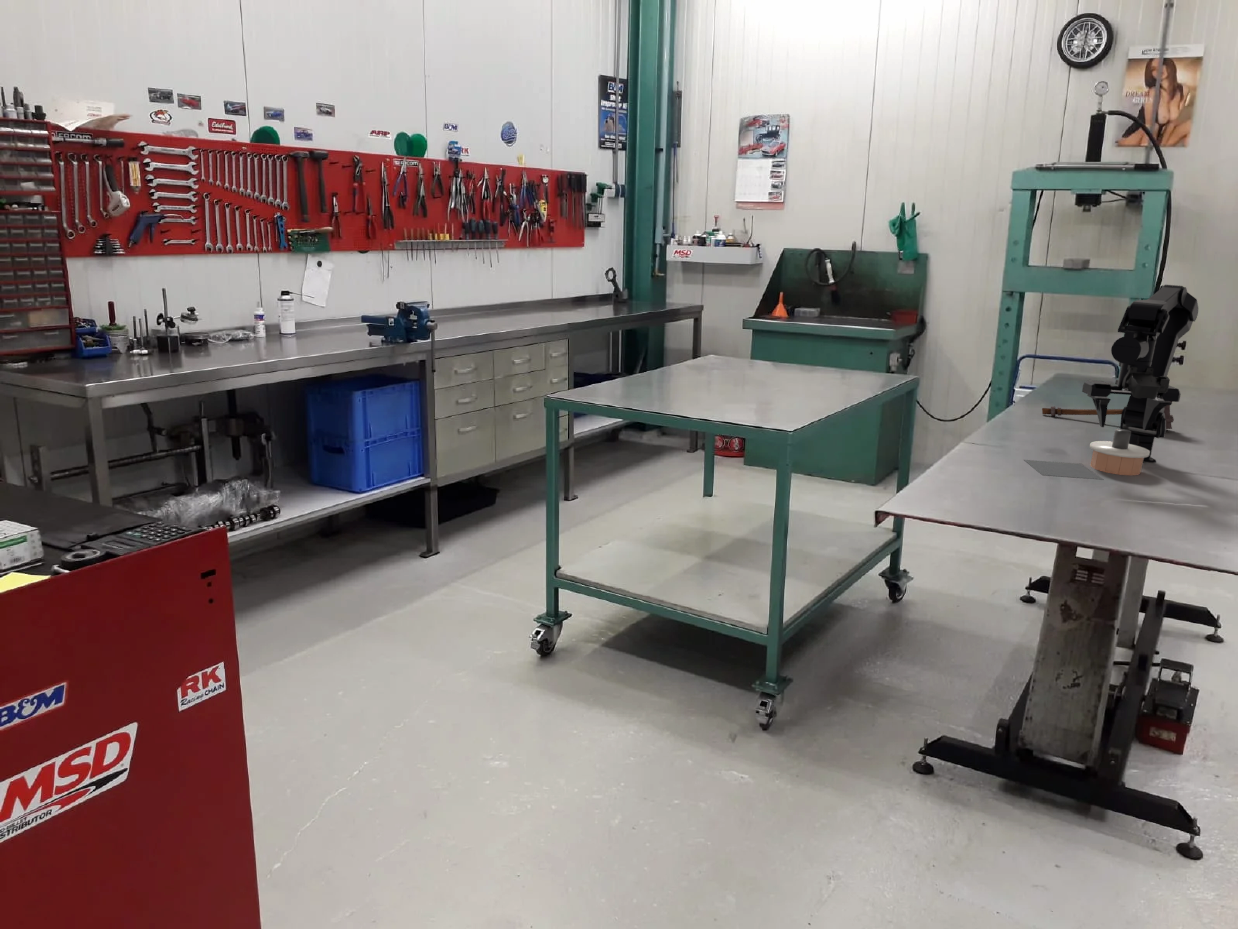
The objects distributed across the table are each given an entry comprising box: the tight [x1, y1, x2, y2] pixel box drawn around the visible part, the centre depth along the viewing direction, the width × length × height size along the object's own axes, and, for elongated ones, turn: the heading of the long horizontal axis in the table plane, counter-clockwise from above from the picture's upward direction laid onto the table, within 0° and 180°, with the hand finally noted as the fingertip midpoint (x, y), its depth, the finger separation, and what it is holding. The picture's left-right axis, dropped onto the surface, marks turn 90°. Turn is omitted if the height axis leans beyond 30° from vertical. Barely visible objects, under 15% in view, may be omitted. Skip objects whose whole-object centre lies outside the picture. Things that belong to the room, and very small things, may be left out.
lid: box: [1089, 428, 1150, 458], centre depth 205 cm, size 12×12×5 cm
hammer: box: [1041, 401, 1175, 430], centre depth 257 cm, size 7×33×10 cm, turn 61°
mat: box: [1023, 459, 1105, 481], centre depth 204 cm, size 13×13×1 cm
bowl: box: [1089, 450, 1144, 476], centre depth 206 cm, size 10×10×4 cm
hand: (1123, 428), depth 204 cm, fingers open, 9 cm apart
